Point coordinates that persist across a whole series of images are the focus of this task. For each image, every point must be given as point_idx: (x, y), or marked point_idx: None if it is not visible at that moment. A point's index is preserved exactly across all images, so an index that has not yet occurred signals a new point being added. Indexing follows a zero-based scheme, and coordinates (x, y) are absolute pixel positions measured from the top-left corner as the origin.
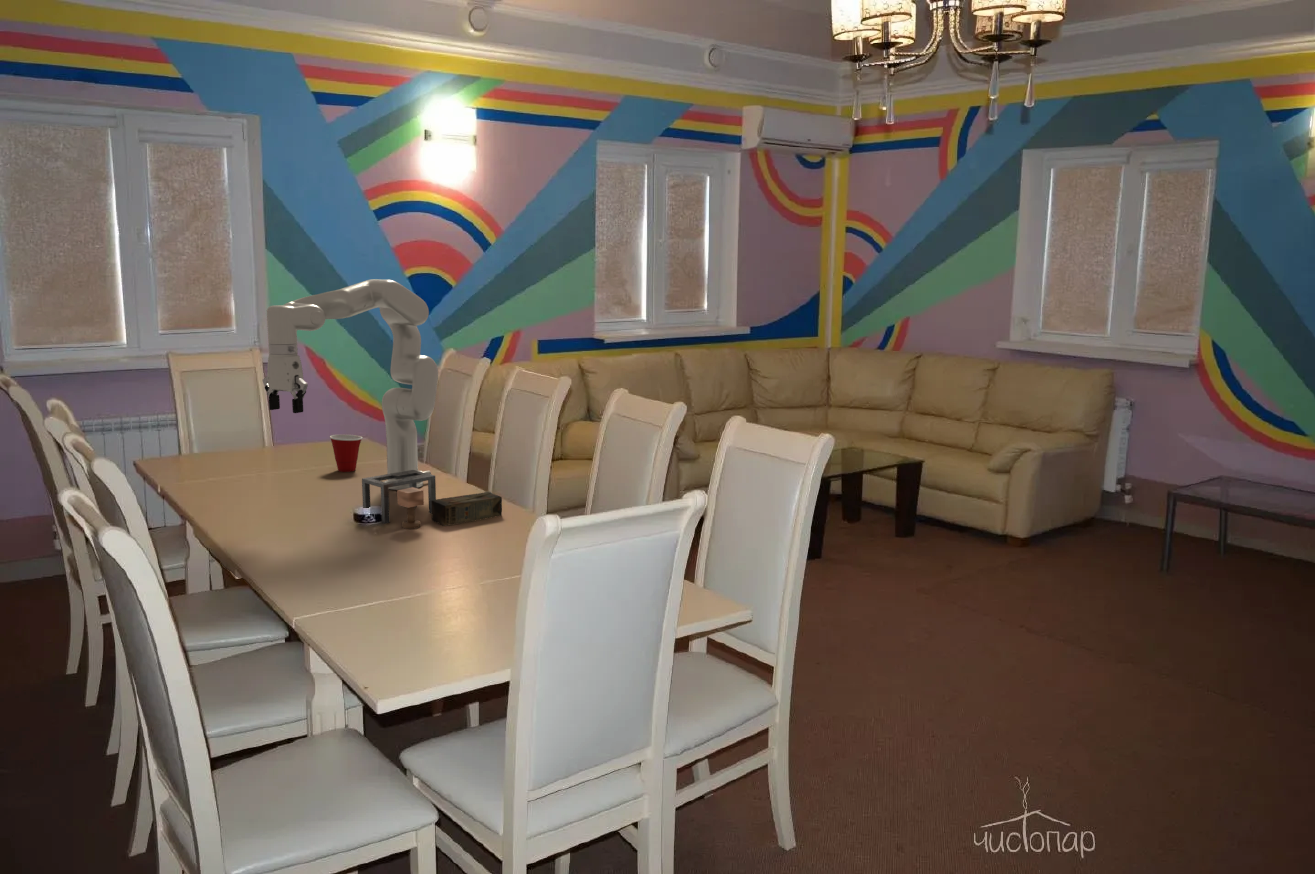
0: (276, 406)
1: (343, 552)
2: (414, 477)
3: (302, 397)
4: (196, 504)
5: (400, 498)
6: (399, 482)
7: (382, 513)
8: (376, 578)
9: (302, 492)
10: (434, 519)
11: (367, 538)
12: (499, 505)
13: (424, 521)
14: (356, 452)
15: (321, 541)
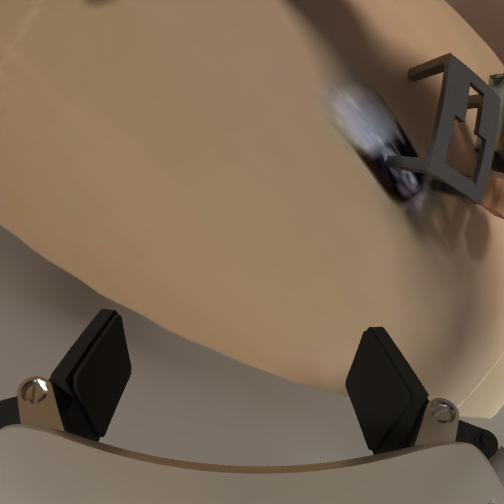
0: (118, 348)
1: (442, 324)
2: (489, 123)
3: (441, 413)
4: (60, 251)
5: (492, 210)
6: (489, 171)
7: (442, 192)
8: (481, 351)
9: (131, 75)
10: None
11: (447, 268)
12: None
13: (469, 156)
14: None
15: (403, 310)
